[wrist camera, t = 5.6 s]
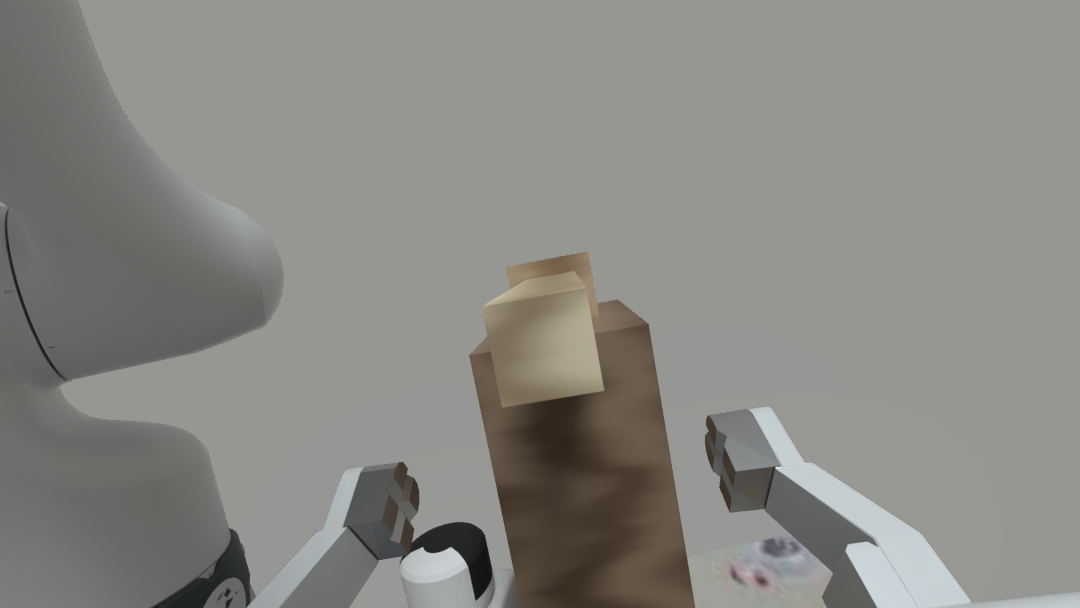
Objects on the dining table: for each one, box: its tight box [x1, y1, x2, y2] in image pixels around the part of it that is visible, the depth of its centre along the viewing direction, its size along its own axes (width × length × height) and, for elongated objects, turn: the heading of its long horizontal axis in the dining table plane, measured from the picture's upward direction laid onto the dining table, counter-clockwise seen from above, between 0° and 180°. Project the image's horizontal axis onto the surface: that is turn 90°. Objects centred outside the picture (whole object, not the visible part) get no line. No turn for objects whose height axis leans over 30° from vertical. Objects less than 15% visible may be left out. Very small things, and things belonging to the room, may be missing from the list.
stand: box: [469, 300, 695, 608], centre depth 29 cm, size 9×12×26 cm
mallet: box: [482, 252, 604, 408], centre depth 22 cm, size 5×20×4 cm, turn 177°
